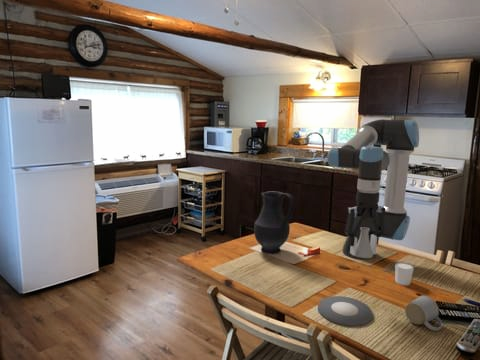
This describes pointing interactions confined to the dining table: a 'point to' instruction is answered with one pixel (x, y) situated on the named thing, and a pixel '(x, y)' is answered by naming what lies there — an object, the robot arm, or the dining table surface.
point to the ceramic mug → (423, 312)
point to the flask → (364, 244)
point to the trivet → (345, 311)
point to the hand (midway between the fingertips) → (362, 253)
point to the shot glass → (403, 273)
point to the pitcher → (273, 222)
